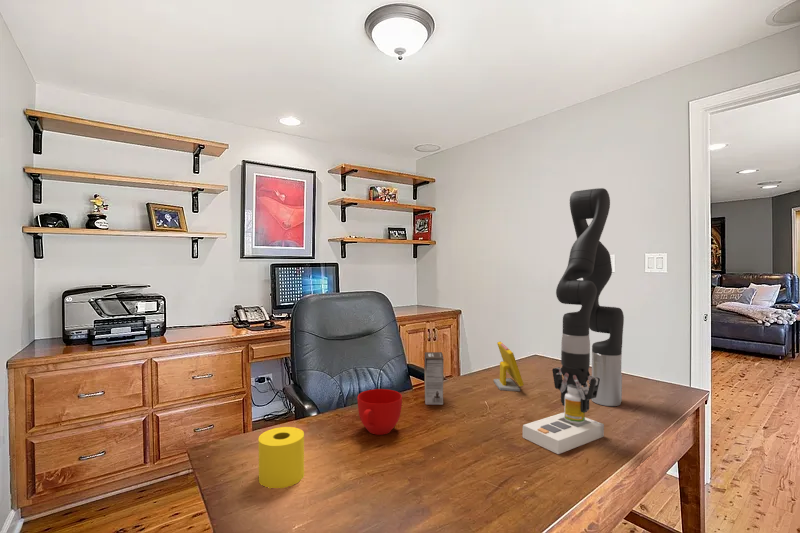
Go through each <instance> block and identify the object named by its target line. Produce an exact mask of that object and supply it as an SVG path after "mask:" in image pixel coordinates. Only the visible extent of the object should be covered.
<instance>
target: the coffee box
mask: <svg viewBox="0 0 800 533" xmlns="http://www.w3.org/2000/svg"><path fill="white" fill-rule="evenodd" d="M444 359H445V358H444V354H443V351H438V352H437V351H435V352H433V351H431V352H429V351H426V352H424V403H425V405H440V406H441V405H444V367H445V366H444Z"/></svg>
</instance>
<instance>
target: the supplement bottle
mask: <svg viewBox="0 0 800 533" xmlns="http://www.w3.org/2000/svg"><path fill="white" fill-rule="evenodd" d="M567 391H568V393H566V394H565V406H564V407H563V408H564V410H563V412H564V418H565V420H566V421H568V422H570V423H575V424H581V423H584V421H585V417H586V412H585V413H583V412H581V399H582V398H581V395H580V392H579V391H578V389H577V387H576V386H574V385H568V386H567Z"/></svg>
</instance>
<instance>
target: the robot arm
mask: <svg viewBox="0 0 800 533" xmlns="http://www.w3.org/2000/svg"><path fill="white" fill-rule="evenodd" d="M610 207H611V198H610V193H609V191H608V190H607V189H606V188H604V187H601V188H599V187H597V188H590V189H589V188H588V189H581V190H575V191H573V192H572V193H571V194H570V197H569V210H570V214H571V219H572V223H573V228H574V231H575V235H576V240H575V241H574V243H573V244H572V245H571V248H570V252H569V257H568V262H567V266H566V269H565V271H564V273H563V274H562V276H561V278H560V280H559V281H558V284H557V286H556V291H555V295H556V299H557V300H558V302H559V303H560V304H564V305H576V306H580V309H579V311H573V312H571V311H570V312H567V313H564V314H563V315H562V316H563V317H562V333H561V334H562V336H561V345H560V346H561V348H560V350H561V352H560V354H561V356H560V360H561V361H560V363H561V365H562V366H561V367H560V366H559V367H554V368H552V370H551V372H552V377H553V383H554V384H553V385H554V389H556V390H559V391H560V403H561V405H562V406H565V394H566V393H568V391H567V386H568V385H574V386H576V387H577V389H578V391H579V392H580V395H581V398H582V399H581V412H583V413H585V414H586V413H587V412H588V411H590V410H589V409H590V400H591V402H594V403H595V404H597V405H601V406H606V407H616V406H617V407H618V406H620V405H621V402H622V400H623V397H622V396H623V393H622V392H623V375H622V352H623V335H624V332H623V331H624V322H625V320H624V319H625V317H624V312H623V309H622V308H621V307H616V306H606V305H603V306H602V305H600V302H599V299H600V295H601V293H602V291H603V290H604V288H605V287H606V285H607V283H608V282H609V280H610V279H611V276H612V275H613V274H612V273H613V268H612V260H611V259H612V258H611V254H610V252H609V250H608V249H607V247H606V246H605V245H604V244H603V243H602V242H601V241H600V239H601V237H602V235H603V232H604V228H605V227H606V226H605V225H606V223H607V219H608V216H609V214H610ZM588 219H589V220H591V222H590V223H589V224H588ZM581 279H583V280H581ZM590 330H591V331H592V332H595V333H602V334H607V335H608V334H609V337H608V338H607V339H605V340H601V341H595V342H594V343H592V346H591V340H590ZM591 347H592V348H591ZM590 360H591V361H590ZM590 365H591V366H590ZM590 367H591V374H590V371H589V369H590Z"/></svg>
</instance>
